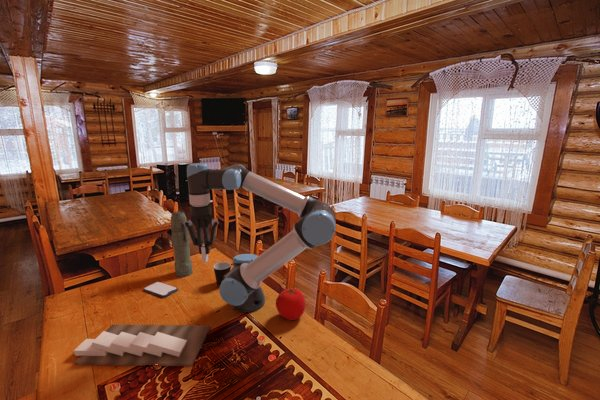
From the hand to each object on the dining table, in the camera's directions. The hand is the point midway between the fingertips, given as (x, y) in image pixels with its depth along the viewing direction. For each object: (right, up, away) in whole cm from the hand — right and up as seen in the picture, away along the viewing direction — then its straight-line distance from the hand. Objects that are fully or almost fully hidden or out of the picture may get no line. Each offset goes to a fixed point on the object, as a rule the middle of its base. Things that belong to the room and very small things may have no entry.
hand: (205, 261), depth 120 cm
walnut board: (-18, -29, -9) cm, 36 cm away
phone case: (-31, -21, +29) cm, 47 cm away
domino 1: (-30, -28, -13) cm, 43 cm away
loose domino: (-4, -28, -13) cm, 32 cm away
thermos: (-26, -16, +46) cm, 55 cm away
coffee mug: (0, -19, +36) cm, 40 cm away
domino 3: (-17, -28, -13) cm, 36 cm away
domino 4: (-10, -28, -13) cm, 33 cm away
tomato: (+34, -25, +8) cm, 43 cm away
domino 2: (-24, -28, -13) cm, 39 cm away
